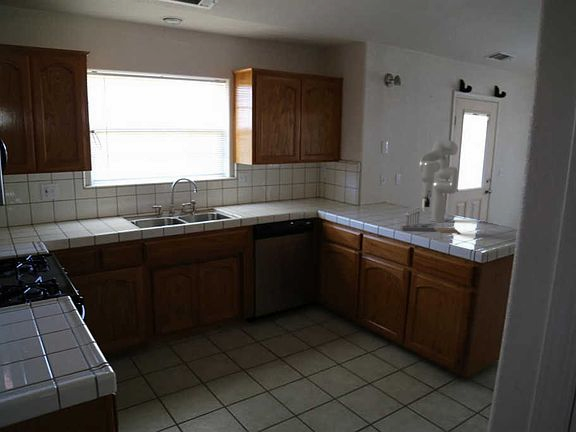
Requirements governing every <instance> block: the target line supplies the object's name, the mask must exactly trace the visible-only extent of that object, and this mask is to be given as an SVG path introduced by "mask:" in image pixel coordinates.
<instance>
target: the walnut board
mask: <svg viewBox="0 0 576 432" xmlns="http://www.w3.org/2000/svg"><path fill="white" fill-rule="evenodd" d="M435 230H437V231H438V232H439V233H440V234H441V233H444V234H446V233H447V234H457V235H461V232H460V231H458V230H457V229H456V228H454V227H453V228H452V227H451V228H449V227H442V228H441V227H435Z"/></svg>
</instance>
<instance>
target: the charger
mask: <svg viewBox="0 0 576 432" xmlns="http://www.w3.org/2000/svg"><path fill="white" fill-rule="evenodd" d="M425 201H426V199H424V198H422V203H421V205H422V206H421V208H422V212H424V213H429V212H430V209H431V206H430V207H425ZM431 201H432V200H431V199H430V204H431V203H432V202H431Z"/></svg>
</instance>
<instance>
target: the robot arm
mask: <svg viewBox="0 0 576 432" xmlns="http://www.w3.org/2000/svg"><path fill="white" fill-rule="evenodd" d="M458 149H459V148H458V145H457V143H456V142H454V141H453V140H436V141H435V142H434V144H433V146H432V149H431V150H430V151H429V152H427V153H425V154H424V155H423V156H422V157H421V159H420V160H419V163H418V170H419V171H421V172H422V178H421V179H422V185H421V186H422V187H421V196H422V197H423V199H426V201H425V207H430V208H431V217H429V219H428V220H429V222H435V223H444V222H446V221H447V219H446V218H445V213H446V212H445V210H446V197H445V195H444V194H451V195H452V194H455V193H456V192H457V184H458V174H459V173H458V168H457V167H455V166H449V158H448V156H454V155H457V152H458ZM435 177H436V178H437V179H440V180H435ZM441 179H442V180H441ZM431 198H432V202H431V203H432V205H431V203H430V200H431Z"/></svg>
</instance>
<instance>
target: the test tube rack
mask: <svg viewBox="0 0 576 432" xmlns="http://www.w3.org/2000/svg"><path fill="white" fill-rule="evenodd" d="M420 212H423V209H420V207H419V206H417V207H414V208H412V209H410V210H406V213H403V215H404V216H406V218H405V225H422V222H420Z"/></svg>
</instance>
